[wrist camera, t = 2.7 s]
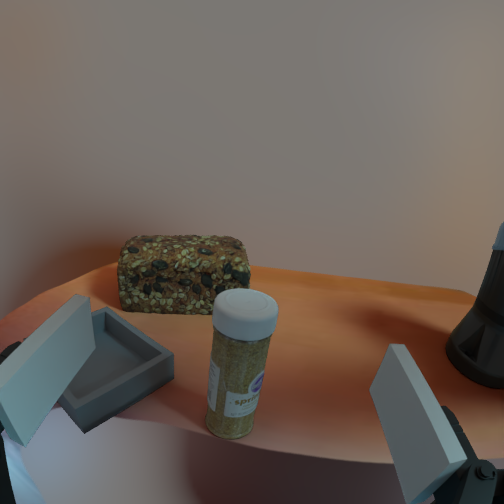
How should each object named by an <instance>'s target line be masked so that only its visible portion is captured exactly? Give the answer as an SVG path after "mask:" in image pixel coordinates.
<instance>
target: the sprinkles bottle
mask: <svg viewBox="0 0 504 504" xmlns="http://www.w3.org/2000/svg"><path fill="white" fill-rule="evenodd" d="M277 317H278V305H277V303H276V301H275V300H274V299H273V298H271V297H270V296H268V295H266V294H264V293H262V292H259V291H256V290H251V289H243V288H237V289H229V290H226V291H223V292H221V293H220V294H218V295H217V297H216V298H215V301H214V308H213V317H212V322H213V328H214V333H213V344H212V351H211V357H210V370H209V382H208V396H207V401H208V410H207V414H206V418H205V421H206V425H207V427H208V429H209V430H210V431H211V432H212V433H213V434H215V435H216V436H218V437H221V438H225V439H238V438H241V437H243V436H245V435H246V434H248V433H249V432H250V431H251V430H252V427H253V417H254V413H255V409H256V406H257V404H258V399H259V395H260V390H261V386H262V381H263V376H264V368H265V363H266V358H267V353H268V348H269V342H270V337H271V336H272V333H273V332H274V330H275V327H276V322H277Z"/></svg>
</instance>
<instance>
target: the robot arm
mask: <svg viewBox="0 0 504 504" xmlns="http://www.w3.org/2000/svg"><path fill="white" fill-rule="evenodd" d="M492 249H493V252H492V255H491V259H490V262H489V265H488V268H487V271H486V274H485V276H484V279H483V282H482V285H481V287H480V290H479V293H478V295H477V298H476V301H475V303H474V305H473V307H472V308H471V309H470V311H469V312H468V313H467V314H466V316H465V317H464V318H463V319H462V320H461V322H460V323H459V324H458V325H457V326H456V328H455V329H454V330H453V331H452V333H451V335H450V337H449V339H448V341H447V344H446V352H447V355H448V357H449V359H450V360H451V362H452V363H453V364H454V366H455V367H456V368H457V369H458V370H459V371H461V372H462V373H463V374H464V375H466V376H467V377H469V378H470V379H472V380H474V381H475V382H477V383H480V384H482V385H485V386H488V387H492V388H504V222H503V223H502V224H501V226H500V228H499V231H498V234H497V238H496V241H495V244H494V245H493V246H492ZM95 348H96V346H95V339H94V332H93V324H92V316H91V307H90V298H89V297H85V296H81V295H77V294H75V295H74V296H73V297H72V298H71V299H69V300H68V301H67V302H66V303H65V304H64V305H63V306H61V307H60V308H59V309H58V310H57V311H56V312H55V313H54V314H53V315H51V316H50V317H49V318H48V319H47V320H46V321H45V322H44V323H43V324H42V325H41V326H40V327H38V328H37V329H36V330H35V331H34V332H33V333H32V334H31V335H30V336H29V337H28V338H27V339H26V340H25V341H24V342H23V343H21V342H19V341H18V342H16V343H14V344H12V345H10V346H8V347H7V348H6V349H5V350H4V351H3V352H2V353H1V354H0V504H16V502H15V498H14V494H13V490H12V486H11V481H10V476H9V472H8V466H7V461H6V455H5V448H4V441H3V438H2V435H1V433H2V431H3V430H4V429H5V431H6V432H7V434H8V436H9V437H10V439H12V440H14V441H15V442H17V443H19V444H20V445H22V446H24V447H26V446H27V444H28V443H29V441H30V440H31V438H32V437H33V435H34V434H35V432H36V430H37V429H38V428H39V426H40V425H41V423H42V422H43V420H44V419H45V417H46V416H47V414H48V413H49V411H50V410H51V409H52V407H53V406H54V404H55V403H56V401H57V400H58V399H59V397H60V396H61V394H62V393H63V392H64V390H65V389H66V387H67V386H68V385H69V383H70V382H71V380H72V379H73V378H74V376H75V375H76V374H77V372H78V371H79V370H80V368H81V367H82V365H83V364H84V363H85V361H86V360H87V359H88V357H89V356H90V355H91V353H92V352H93V351H94V350H95ZM369 391H370V394H371V397H372V399H373V402H374V405H375V408H376V411H377V414H378V416H379V419H380V422H381V425H382V428H383V431H384V434H385V437H386V440H387V443H388V446H389V449H390V452H391V455H392V458H393V461H394V465H395V468H396V471H397V474H398V478H399V480H400V484H401V488H402V491H403V494H404V498H405V501H406V504H416V503H421V502H424V501H425V500H426V499H427V498H429V497H430V496H431V495H432V494H434V497H435V500H434V501H433V502H432V503H431V504H504V469H496V468H495V467H494V466H493V465H492V463H490V462H489V461H487V460H482V459H481V460H479V459H478V458H477V456H476V454H475V452H474V450H473V448H472V446H471V444H470V442H469V440H468V439H467V437H466V435H465V433H463V429H462V427H461V426H460V425H459V422H458V420H457V418H456V417H455V415H454V413H453V412H451V411H450V410H449V409H448V408H447V407H446V406H440V405H439V403H438V401H437V399H436V398H435V396H434V394H433V392H432V390H431V389H430V387H429V385H428V383H427V382H426V380H425V378H424V376H423V375H422V373H421V371H420V370H419V368H418V366H417V365H416V363H415V361H414V360H413V358H412V356H411V355H410V353H409V351H408V350H407V348H406V346H405V345H404V344H389V347H388V349H387V351H386V354H385V356H384V358H383V361H382V363H381V365H380V367H379V370H378V372H377V374H376V376H375V378H374V380H373V382H372V384H371V387H370V389H369Z"/></svg>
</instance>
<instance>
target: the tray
mask: <svg viewBox="0 0 504 504" xmlns="http://www.w3.org/2000/svg"><path fill="white" fill-rule="evenodd" d="M91 316H92V324H93V332H94V339H95V346H96V348H95V350H94V351H93V352H92V353H91V355H90V356H89V357H88V359H87V360H86V361H85V363H84V364H83V365H82V367H81V368H80V370H79V371H78V372H77V374H76V375H75V376H74V378H73V379H72V380H71V382H70V383H69V385H68V386H67V387H66V389H65V390H64V392H63V393H62V394H61V396H60V397H59V399H58V400H57V401H58V403H59V404H60V405H61V406H62V408H63V409H64V410H65V411H66V413H67V414H68V415H69V416H70V418H71V419H72V420H73V421H74V422H75V424H76V425H77V426H78V427H79V428H80V429H81V431H82V432H83V433H84V434H85V433H86V432H88V431H90V430H91V429H93V428H95V427H97V426H98V425H100V424H102V423H103V422H105V421H107V420H108V419H110V418H112V417H113V416H115V415H117V414H118V413H120V412H122V411H123V410H125V409H127V408H128V407H130V406H131V405H133V404H135V403H136V402H138V401H139V400H141V399H143V398H144V397H146V396H147V395H149V394H150V393H152V392H154V391H155V390H157V389H158V388H160V387H161V386H163V385H164V384H166V383H168V382H169V381H171V380H172V379H174V353H172V352H170V351H169V350H167V349H166V348H164V347H163V346H161V345H160V344H158V343H157V342H155V341H154V340H152V339H151V338H150V337H148V336H147V335H145V334H144V333H142V332H141V331H139V330H138V329H137V328H135V327H134V326H132V325H131V324H130V323H128V322H127V321H126V320H124V319H123V318H121V317H120V316H119V315H117V314H116V313H115V312H113V311H112V310H111V309H109V308H108V307H105V308H102V309H99V310H97V311H94V312H92V313H91ZM27 338H28V337H27ZM27 338H25V339H23V340H24V341H25V340H26V339H27Z"/></svg>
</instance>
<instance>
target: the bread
mask: <svg viewBox="0 0 504 504" xmlns="http://www.w3.org/2000/svg"><path fill="white" fill-rule="evenodd" d="M117 275H118V286H119V296H120V302H121V305H122V309H123V311H126V312H134V311H137V312H144V313H154V312H155V313H159V314H167V313H170V314H193V315H194V314H197V313H202V314H212V315H213V308H214V301H215V298H216V297H217V295H218V294H220V293H221V292H223V291H226V290H229V289H237V288H243V289H249V288H250V282H249V280H250V275H251V274H250V267H249V263H248V259H247V254H246V249H245V247H244V245H243V244H242V242H241V241H239V240H238V239H235V238H232V237H229V236H215V235H213V236H197V235H185V236H182V235H179V236H176V235H175V236H166V235H165V236H161V235H160V236H159V235H155V236H135V237H133V238H131V239H130V240H128V241H126V244H125V246H122V248H121V252H120V259H119V260H118V268H117Z"/></svg>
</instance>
